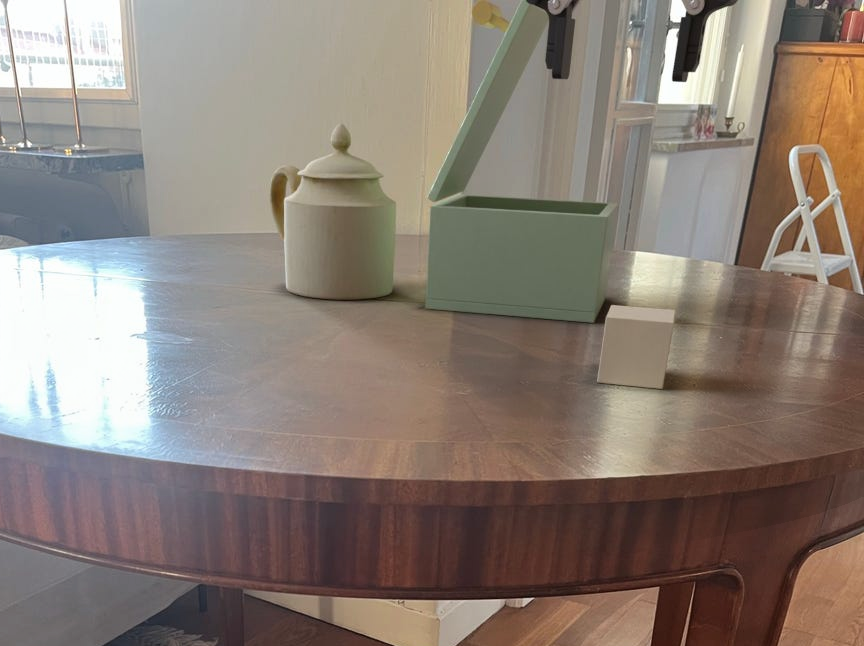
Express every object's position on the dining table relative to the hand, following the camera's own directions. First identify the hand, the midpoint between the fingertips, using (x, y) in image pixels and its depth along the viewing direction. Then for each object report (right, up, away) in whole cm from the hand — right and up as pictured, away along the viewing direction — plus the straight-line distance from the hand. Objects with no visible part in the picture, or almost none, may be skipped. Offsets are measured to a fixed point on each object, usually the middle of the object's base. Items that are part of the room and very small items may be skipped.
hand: (617, 80), depth 68 cm
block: (+2, -21, +2) cm, 21 cm away
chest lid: (-7, +8, +19) cm, 22 cm away
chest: (-3, -7, +26) cm, 27 cm away
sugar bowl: (-23, -4, +30) cm, 38 cm away
